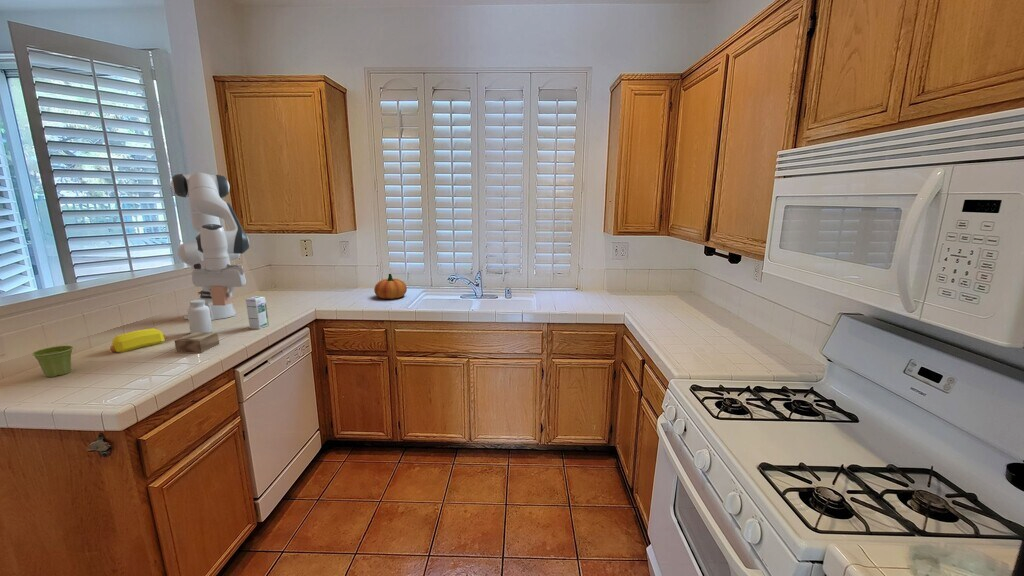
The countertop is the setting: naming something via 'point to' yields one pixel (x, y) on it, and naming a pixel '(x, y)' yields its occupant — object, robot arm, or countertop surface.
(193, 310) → the pill bottle
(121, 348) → the yellow long rounded bar
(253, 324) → the syrup box
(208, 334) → the pedestal
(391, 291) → the pumpkin
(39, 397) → the countertop surface
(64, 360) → the plant pot
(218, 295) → the terracotta block
